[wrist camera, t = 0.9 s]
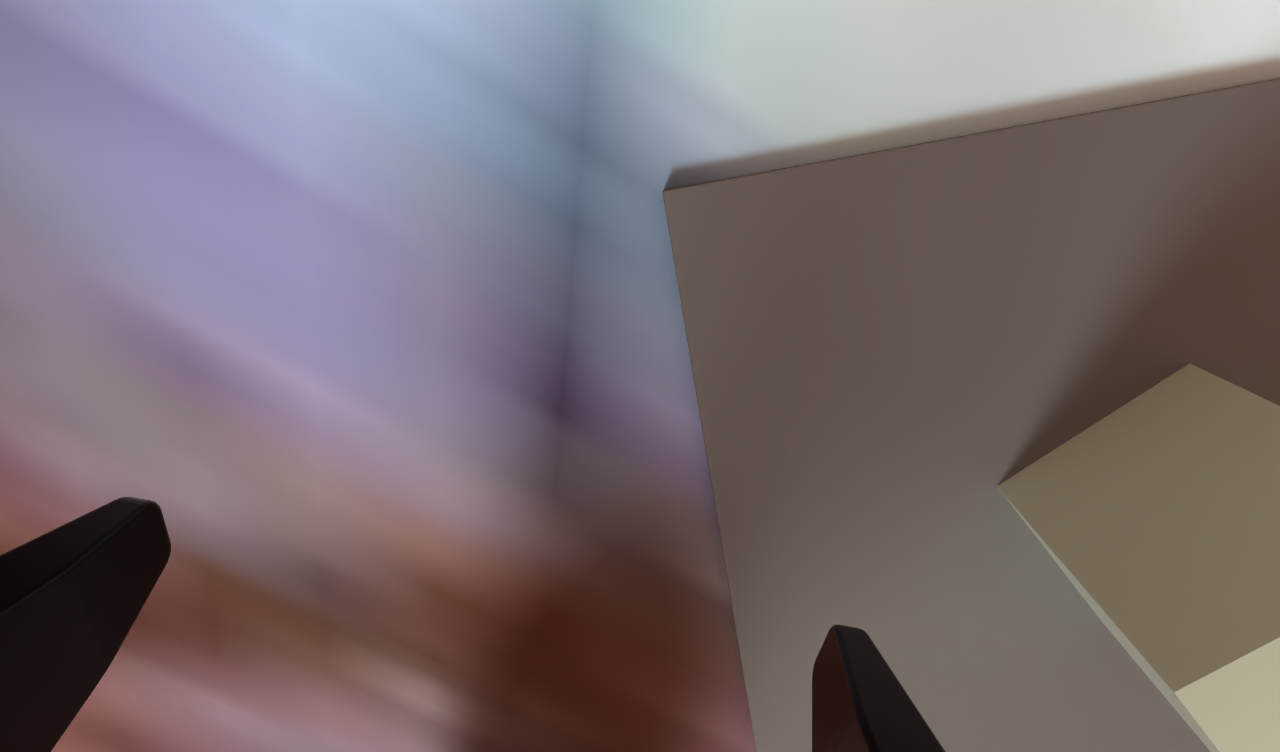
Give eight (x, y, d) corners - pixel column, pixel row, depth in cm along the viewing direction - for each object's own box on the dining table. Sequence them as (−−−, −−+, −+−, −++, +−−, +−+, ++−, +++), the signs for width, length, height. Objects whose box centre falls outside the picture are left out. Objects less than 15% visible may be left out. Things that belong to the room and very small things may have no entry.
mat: (1292, 738, 28) (1305, 751, 27) (762, 786, 30) (764, 798, 30) (1371, 61, 21) (1391, 59, 20) (663, 190, 23) (662, 192, 22)
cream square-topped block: (1290, 515, 25) (1640, 741, 16) (1102, 621, 26) (1319, 881, 17) (1190, 363, 23) (1510, 516, 14) (996, 486, 25) (1173, 692, 16)
